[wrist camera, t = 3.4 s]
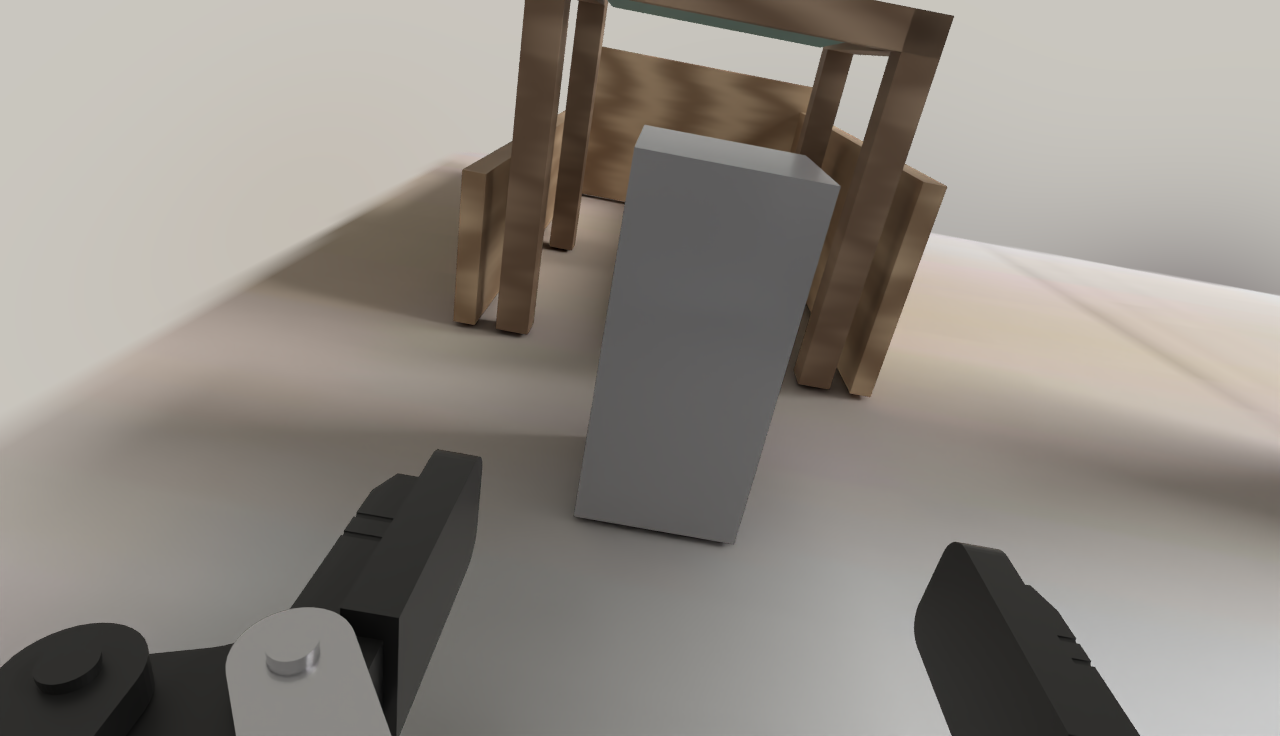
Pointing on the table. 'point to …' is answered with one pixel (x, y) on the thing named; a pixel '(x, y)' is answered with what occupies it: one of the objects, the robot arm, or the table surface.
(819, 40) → the trapdoor
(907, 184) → the trapdoor frame
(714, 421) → the granite stone
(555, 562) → the table surface
